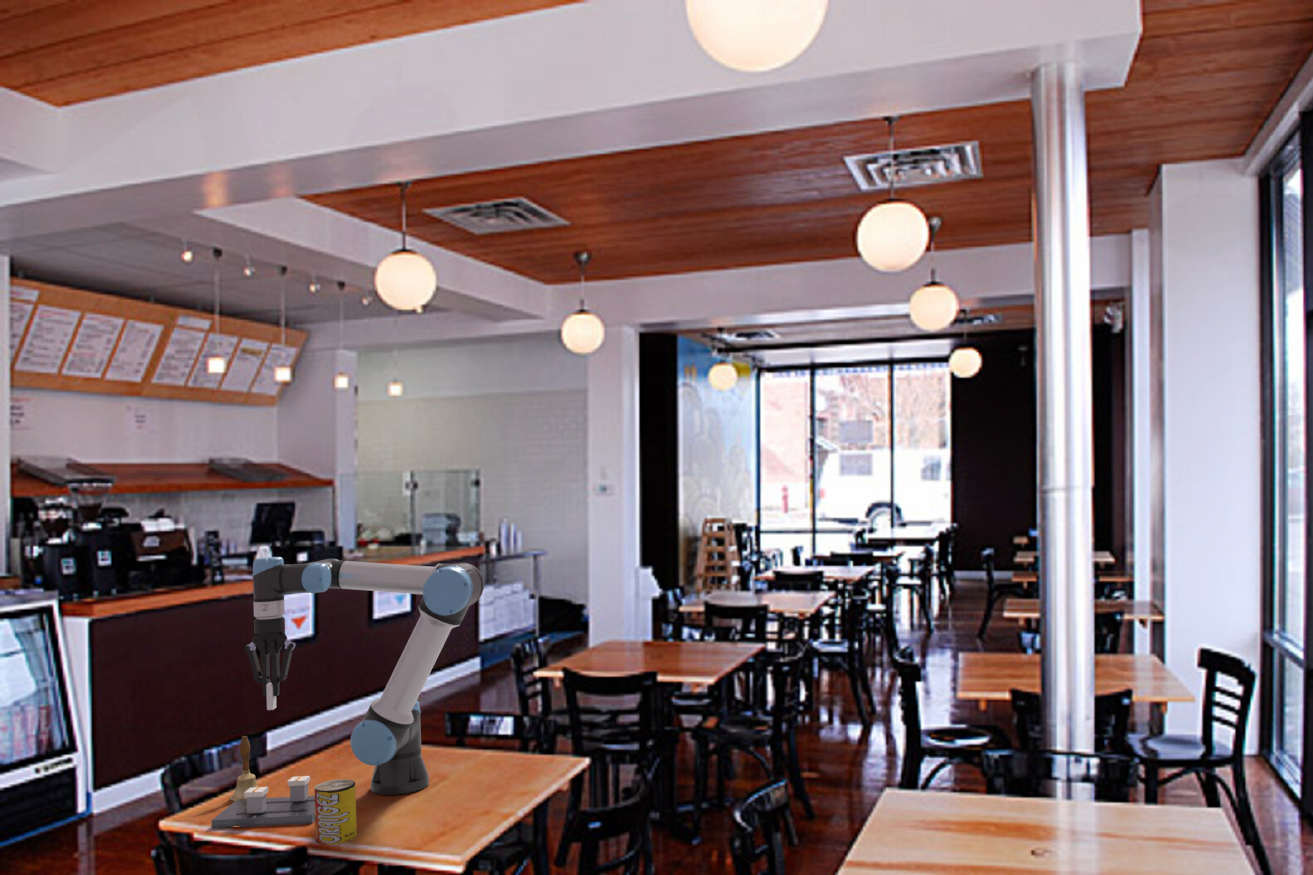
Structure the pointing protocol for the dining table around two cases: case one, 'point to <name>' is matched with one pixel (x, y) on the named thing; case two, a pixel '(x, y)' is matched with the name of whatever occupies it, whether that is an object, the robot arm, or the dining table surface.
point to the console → (267, 813)
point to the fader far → (298, 788)
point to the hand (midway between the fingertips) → (271, 708)
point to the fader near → (256, 799)
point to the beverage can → (335, 811)
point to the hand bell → (244, 772)
